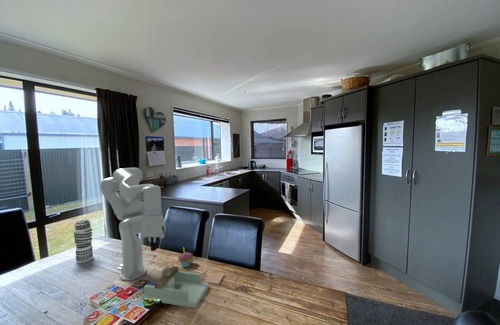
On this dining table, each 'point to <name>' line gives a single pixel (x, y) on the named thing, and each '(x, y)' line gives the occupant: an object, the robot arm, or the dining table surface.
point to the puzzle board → (180, 290)
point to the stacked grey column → (83, 241)
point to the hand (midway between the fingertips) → (154, 249)
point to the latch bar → (166, 276)
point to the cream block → (170, 283)
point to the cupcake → (185, 258)
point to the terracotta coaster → (214, 278)
